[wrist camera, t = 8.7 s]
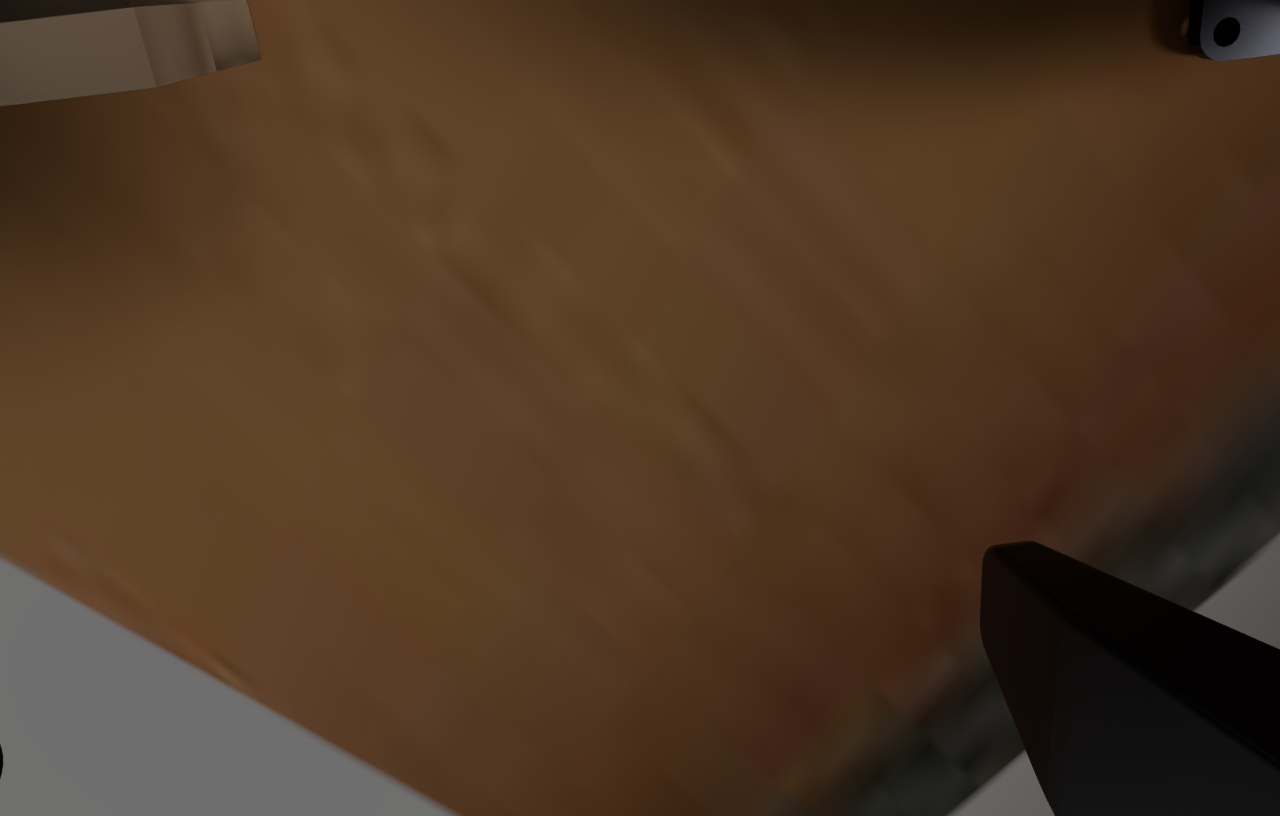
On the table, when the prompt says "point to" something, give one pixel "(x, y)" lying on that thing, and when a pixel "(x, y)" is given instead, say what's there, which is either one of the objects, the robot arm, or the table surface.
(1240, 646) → the robot arm
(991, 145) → the table surface
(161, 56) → the holder
